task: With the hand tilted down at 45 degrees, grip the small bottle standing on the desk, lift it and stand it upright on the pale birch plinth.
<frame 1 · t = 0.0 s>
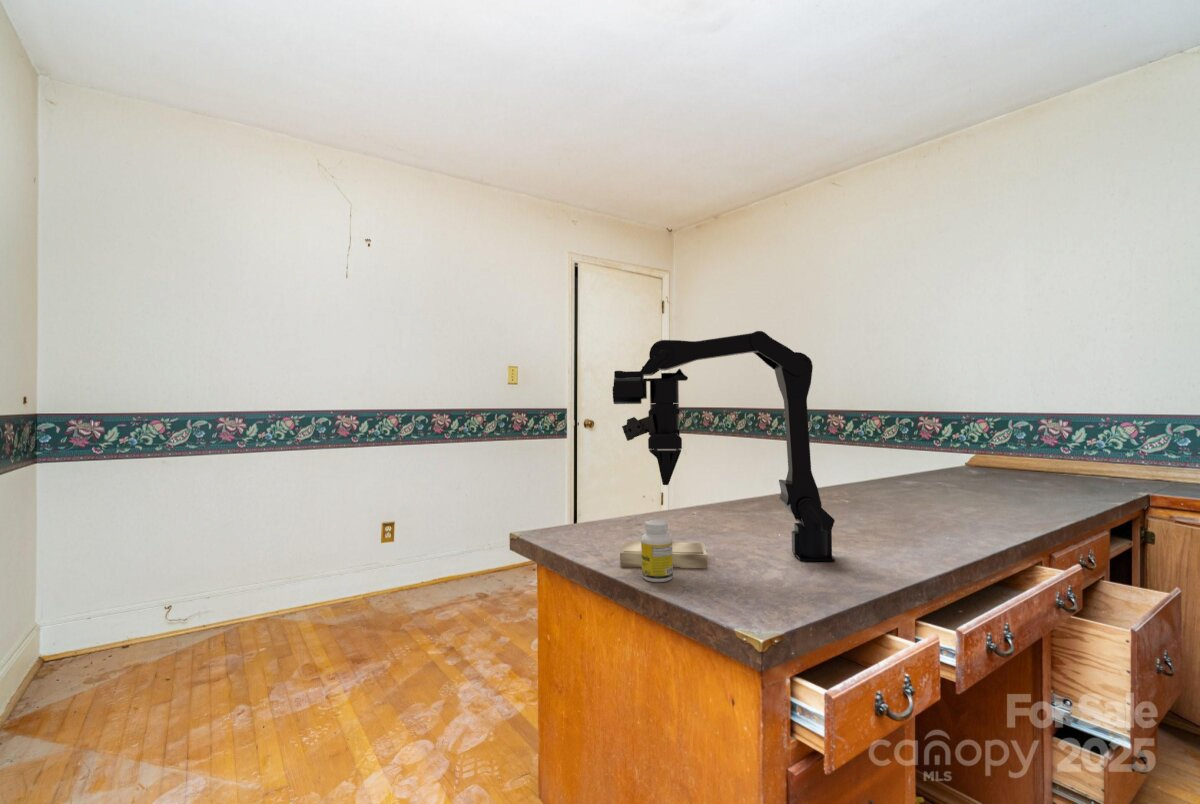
hand: (665, 481, 109), 15 cm above the worktop, tool pointing down, fingers open, 9 cm apart
supplement bottle: (657, 579, 94), on the worktop
birch plinth: (663, 560, 104), on the worktop
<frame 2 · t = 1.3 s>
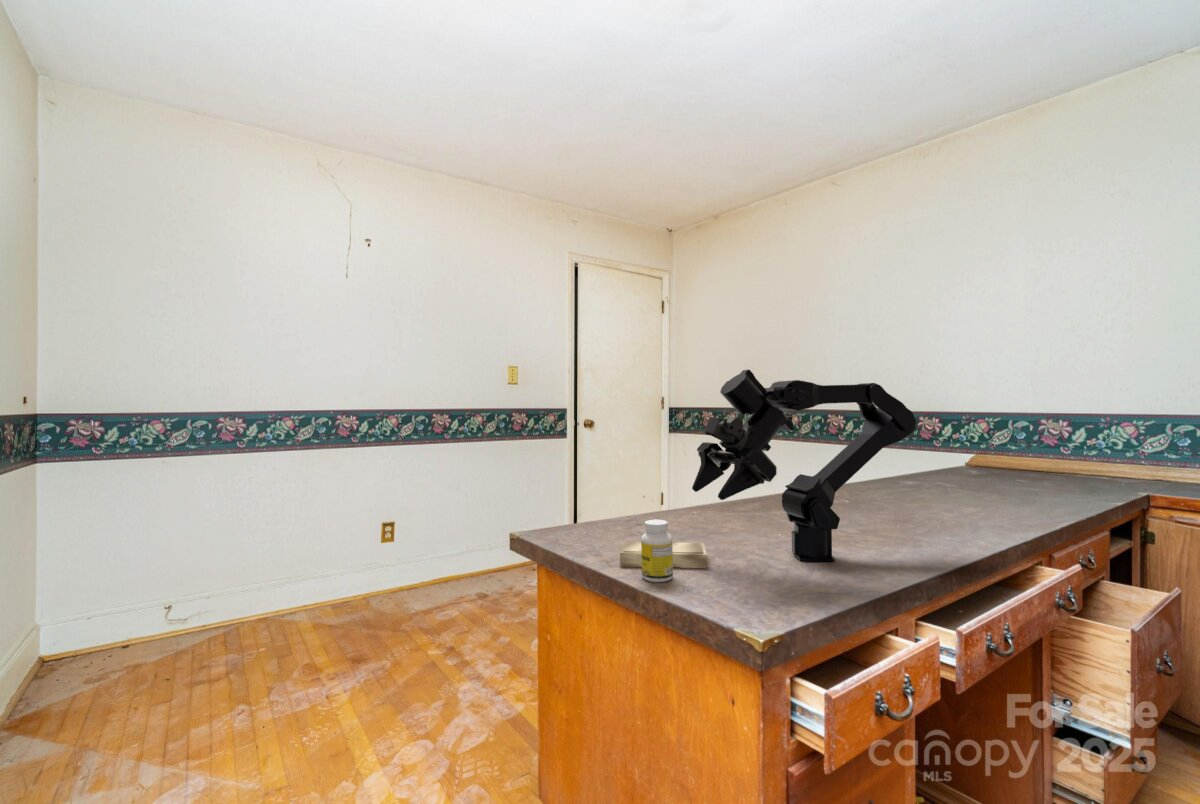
hand: (706, 494, 98), 14 cm above the worktop, tool tilted 45°, fingers open, 9 cm apart
nothing on the worktop moved.
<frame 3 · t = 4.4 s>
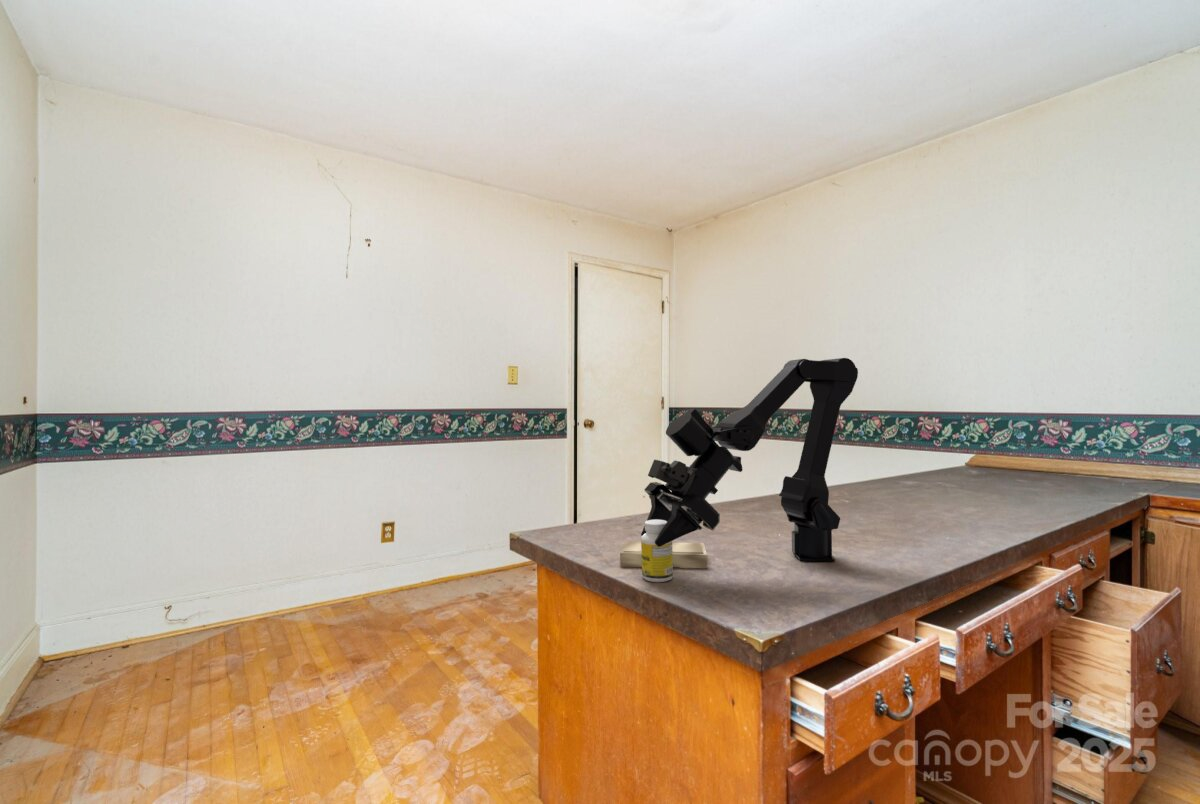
hand: (649, 540, 94), 7 cm above the worktop, tool tilted 45°, fingers closed on supplement bottle, 5 cm apart
supplement bottle: (657, 578, 94), on the worktop, touching gripper
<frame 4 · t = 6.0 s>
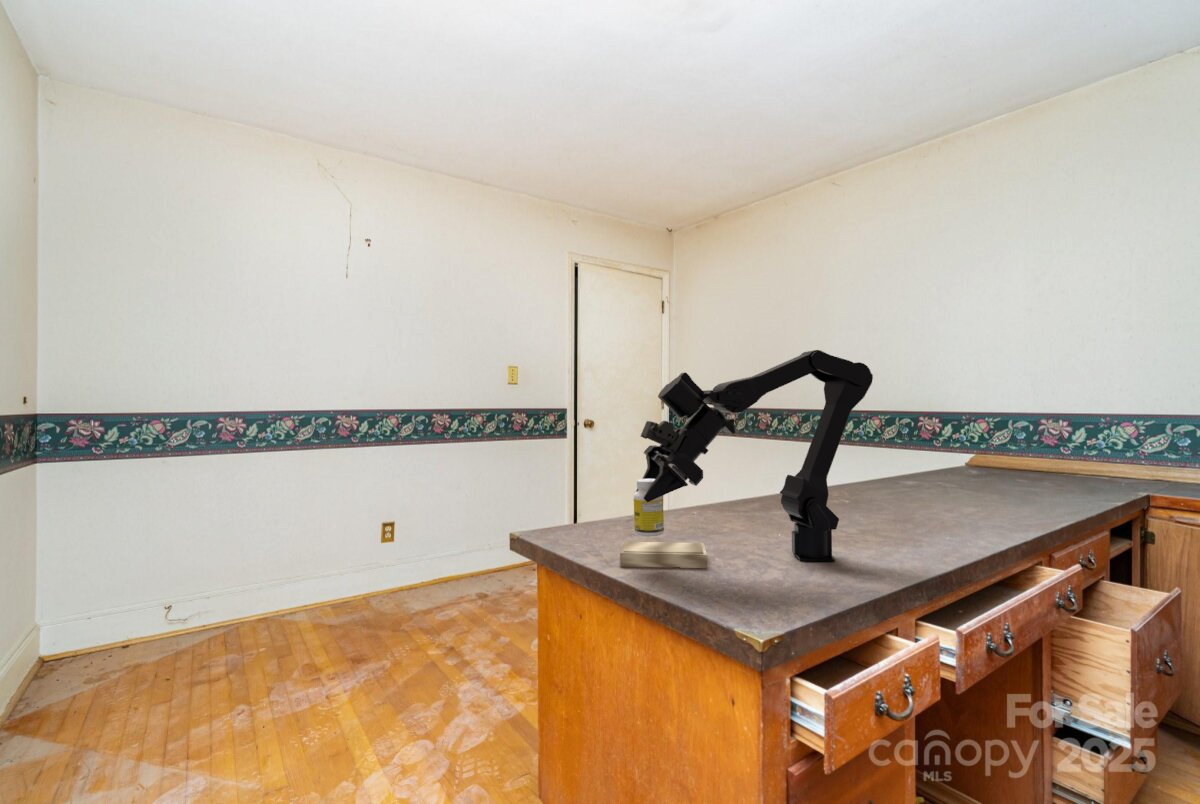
hand: (641, 497, 99), 13 cm above the worktop, tool tilted 45°, fingers closed on supplement bottle, 5 cm apart
supplement bottle: (649, 534, 99), point 6 cm above the worktop, touching gripper
when the fingers open (10 cm above the worktop, at t = 7.5 s): supplement bottle stays where it is, resting on birch plinth.
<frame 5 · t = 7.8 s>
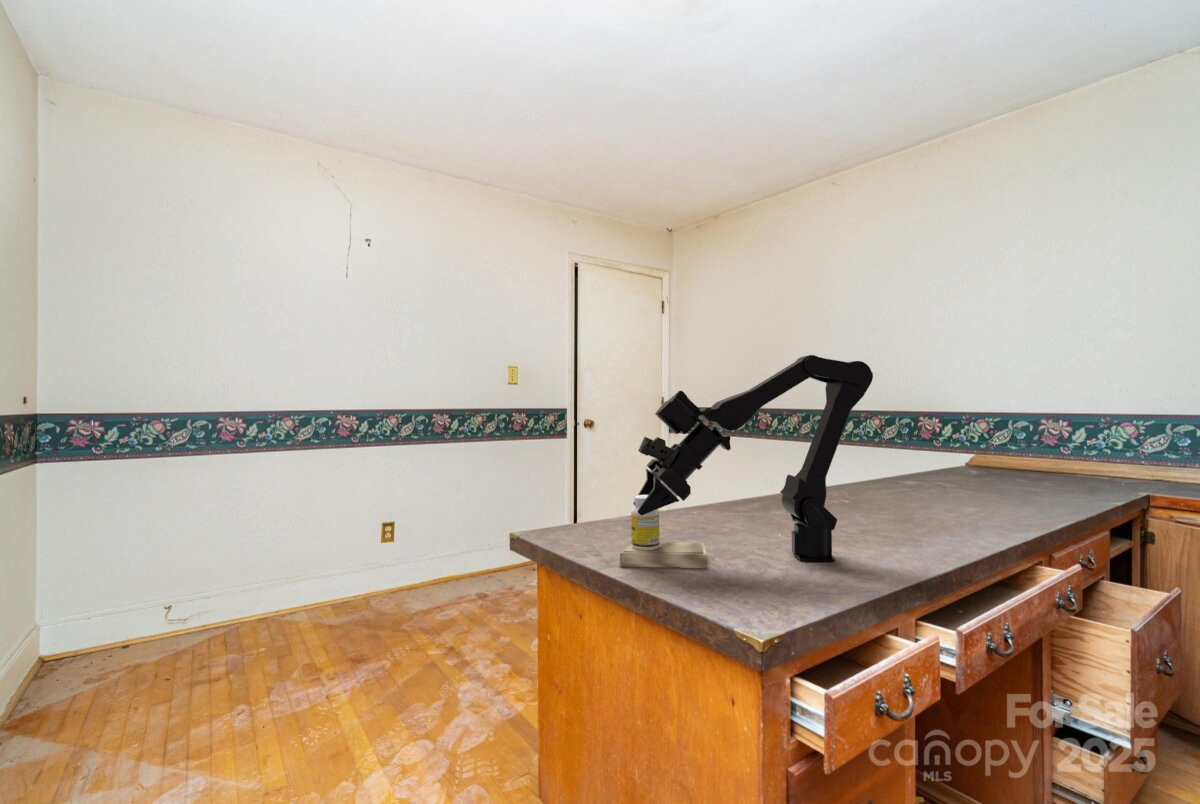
hand: (637, 509, 104), 10 cm above the worktop, tool tilted 45°, fingers open, 8 cm apart
supplement bottle: (645, 548, 104), point 3 cm above the worktop, touching birch plinth
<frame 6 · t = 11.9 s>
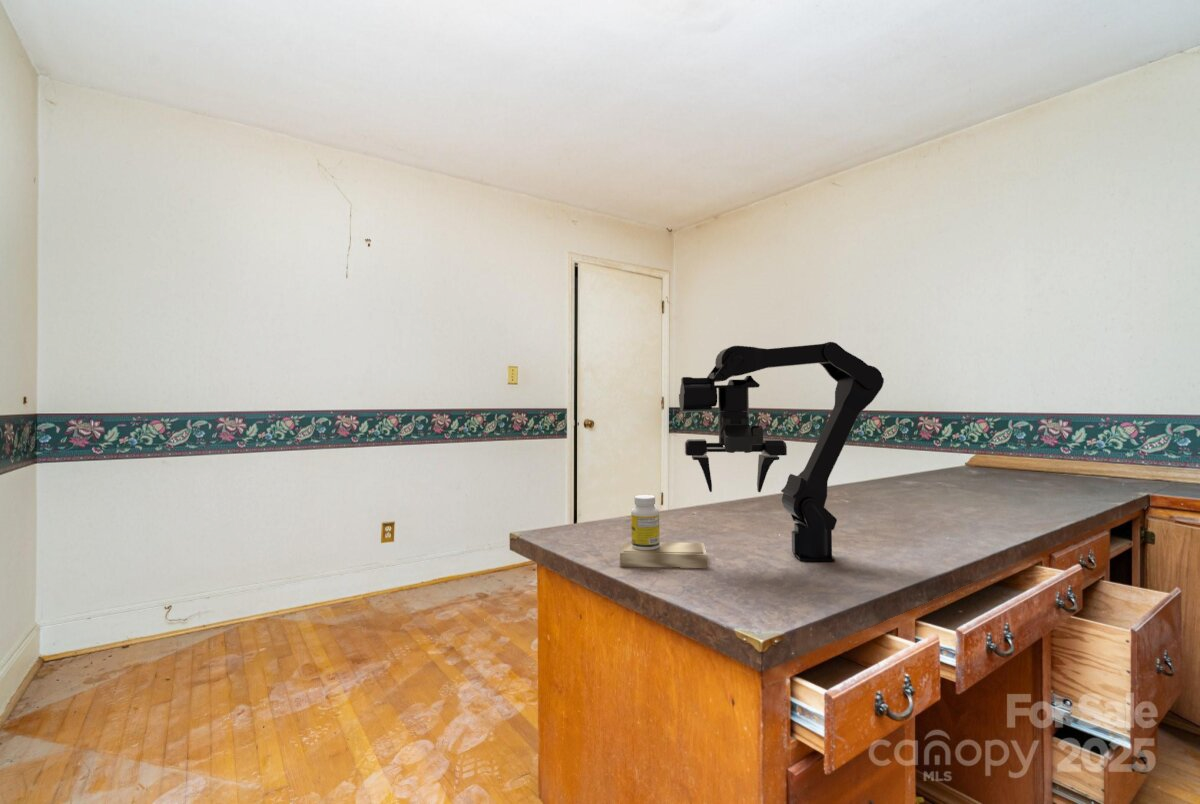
hand: (734, 491, 105), 13 cm above the worktop, tool pointing down, fingers open, 9 cm apart
nothing on the worktop moved.
at the end: supplement bottle inside the target area on the birch plinth (3.3 cm from its centre), point 2.5 cm above the birch plinth's base; supplement bottle tilted 0°; the gripper is holding nothing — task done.
